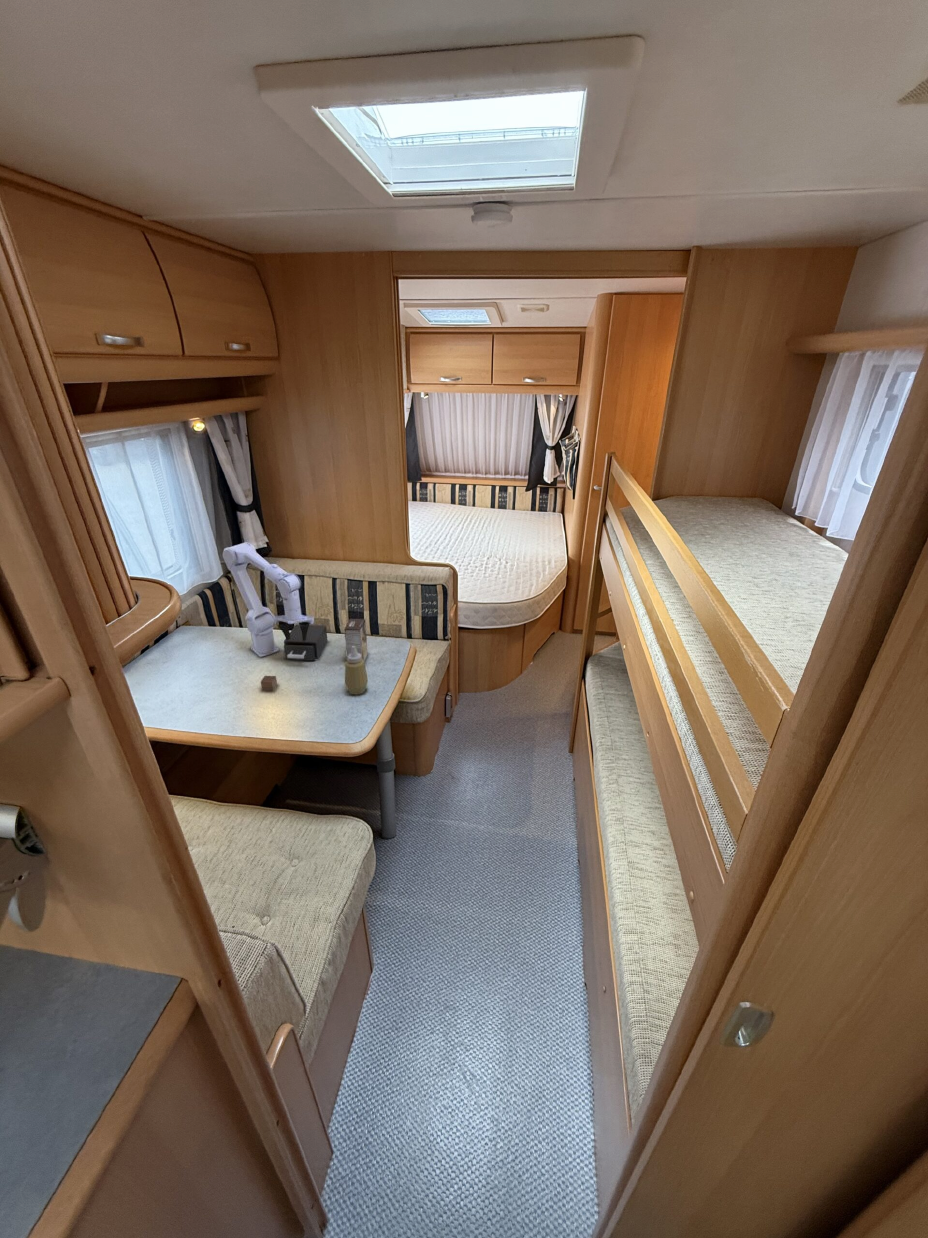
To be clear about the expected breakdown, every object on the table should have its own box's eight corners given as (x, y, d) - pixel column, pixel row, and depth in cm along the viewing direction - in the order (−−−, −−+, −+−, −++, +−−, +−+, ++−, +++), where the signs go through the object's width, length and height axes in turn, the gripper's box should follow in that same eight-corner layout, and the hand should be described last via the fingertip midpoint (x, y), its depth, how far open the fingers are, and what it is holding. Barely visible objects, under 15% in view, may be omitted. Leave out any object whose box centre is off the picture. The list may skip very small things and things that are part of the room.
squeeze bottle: (363, 681, 182) (360, 639, 174) (372, 692, 176) (369, 648, 168) (342, 688, 178) (338, 644, 170) (350, 699, 172) (346, 654, 164)
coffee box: (352, 653, 200) (349, 618, 193) (368, 654, 200) (365, 618, 193) (346, 665, 192) (344, 628, 184) (363, 666, 192) (361, 629, 184)
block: (273, 691, 174) (271, 682, 172) (262, 691, 174) (260, 681, 172) (277, 685, 178) (275, 675, 176) (266, 684, 178) (264, 675, 176)
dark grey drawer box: (317, 659, 195) (315, 642, 191) (286, 658, 195) (283, 641, 191) (327, 641, 208) (326, 625, 205) (297, 640, 208) (295, 624, 205)
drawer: (311, 666, 188) (309, 653, 186) (281, 665, 188) (279, 651, 186) (323, 643, 205) (322, 631, 202) (296, 642, 205) (294, 630, 202)
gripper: (268, 610, 178) (273, 643, 184) (308, 612, 178) (312, 645, 184) (275, 602, 184) (280, 634, 190) (314, 604, 184) (317, 636, 190)
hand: (296, 639), depth 188 cm, fingers open, 6 cm apart
